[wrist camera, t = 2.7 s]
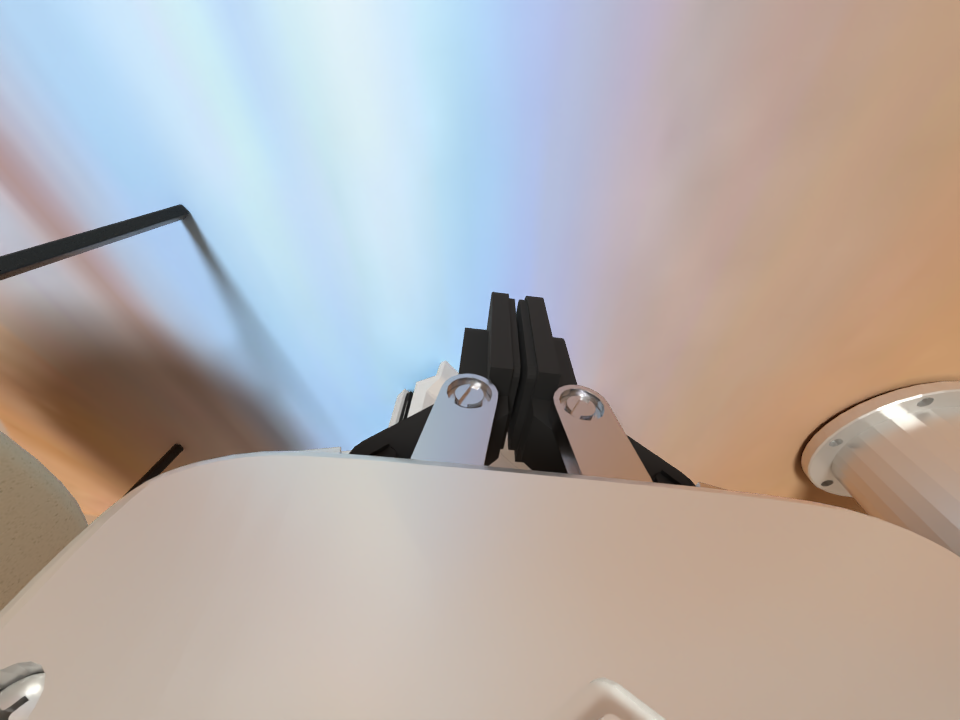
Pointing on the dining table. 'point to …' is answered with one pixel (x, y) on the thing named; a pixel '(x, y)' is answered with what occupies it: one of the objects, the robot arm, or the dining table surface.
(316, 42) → the dining table surface
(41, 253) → the planter
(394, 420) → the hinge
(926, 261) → the dining table surface
